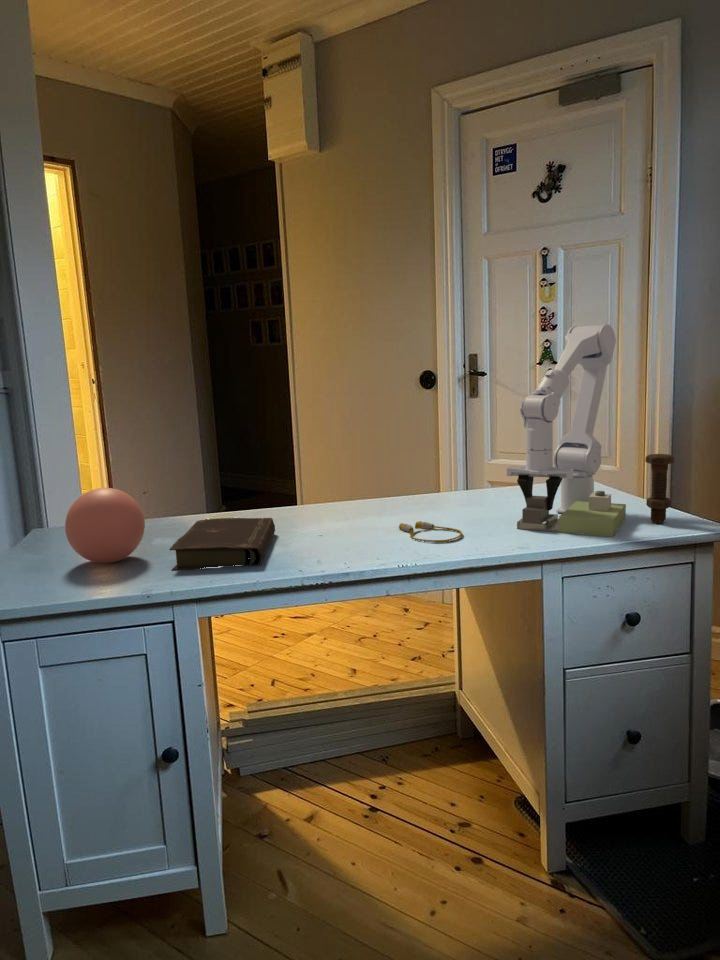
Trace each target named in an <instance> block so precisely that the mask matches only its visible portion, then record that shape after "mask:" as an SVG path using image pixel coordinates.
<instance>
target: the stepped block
mask: <svg viewBox="0 0 720 960" xmlns="http://www.w3.org/2000/svg"><path fill="white" fill-rule="evenodd" d="M525 505H526V507H524V508H523V509H522V517H521V519H522V523H532V524H541V523H544V522H547V521H546V520H547V519H549V514H550V510H547V495H546V496H545V495H532V496H530V497H528V498H527V501H525Z"/></svg>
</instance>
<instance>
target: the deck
mask: <svg viewBox="0 0 720 960" xmlns="http://www.w3.org/2000/svg"><path fill="white" fill-rule="evenodd" d="M626 508H627V507H626V503H615V502H614V503H613V502H612V494H611V493H606V492H605V490H596V491H595V490H594V493H592V494H591V495H590V496H589V502H581V501H576V502H575V503H574V504H572V505H571V506H570V507H569V508H568V509H567V510H566V511H565V512H564V513H560V515H558V519H559V532H558V533H563V534H576V535H587V536H598V537H600V536H601V537H611V538H612V537H614V535H615V534H616V533H617V531H618V530H619V529H620V527H621V526H622V525H623V523H624V522H625V521H626V514H627V511H626V510H627V509H626ZM624 520H625V521H624ZM623 521H624V522H623ZM621 524H622V525H621ZM618 528H619V529H618ZM615 532H616V533H615Z"/></svg>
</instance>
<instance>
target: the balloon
mask: <svg viewBox="0 0 720 960" xmlns="http://www.w3.org/2000/svg"><path fill="white" fill-rule="evenodd" d="M145 528H146V521H145V515H144V513H143V510H142V508H141V507H140V504H139V503H138V502H137V501H136V500H135V498H133V497H132V496H131V495H130V494H128V493H126V492H125V491H123V490H120V489H118V488H117V489H116V488H111V487H100V488H94V489H92V490H89V491H86V492H85V493H83V494H82V495H80V496H78V497H77V499H75V501H74V502H73V503H72V505H70V507H69V509H68V511H67V514H66V517H65V523H64V530H65V531H64V532H65V535H66V539H67V541H68V543H69V546H70V547H71V548H72V549H73V550H74V552H75V553H76V554H77V555H79V556H80V557H82V558H83V559H86V560H88V561H90V562H93V563H97V564H98V563H99V564H111V563H116V562H118V561H121V560H123V559H126V558H127V557H128V556H130V555H131V554H132V553H134V551H135V550H136V549H137V548H138V547H139V545H140V543H141V542H142V539H143V537H144V534H145Z"/></svg>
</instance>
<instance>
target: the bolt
mask: <svg viewBox="0 0 720 960" xmlns="http://www.w3.org/2000/svg"><path fill="white" fill-rule="evenodd" d="M645 463H647V464H650V466H651V467H650V470H651V482H650V483H651V489H650V494H651V495H650V497H648V498H647V499H646V504H645V505H646V506H647V507H648V508H649V509H650V521H651V523H653V524H655V523H656V524H655V525H658V524H660V523H661V524H664V523H665V521H666V519H667V509H668V508H670V507H671V506H672V501H671V499H670V498H669V497H667V489H668V471H669V465H671V464H674V463H675V457H674V455H672V454H667V453H651V454H647V455H646V456H645Z"/></svg>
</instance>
